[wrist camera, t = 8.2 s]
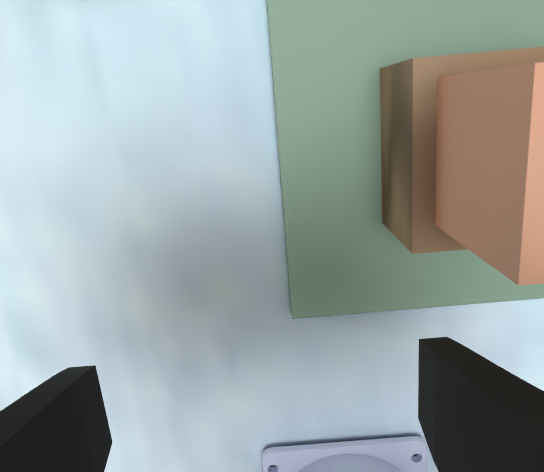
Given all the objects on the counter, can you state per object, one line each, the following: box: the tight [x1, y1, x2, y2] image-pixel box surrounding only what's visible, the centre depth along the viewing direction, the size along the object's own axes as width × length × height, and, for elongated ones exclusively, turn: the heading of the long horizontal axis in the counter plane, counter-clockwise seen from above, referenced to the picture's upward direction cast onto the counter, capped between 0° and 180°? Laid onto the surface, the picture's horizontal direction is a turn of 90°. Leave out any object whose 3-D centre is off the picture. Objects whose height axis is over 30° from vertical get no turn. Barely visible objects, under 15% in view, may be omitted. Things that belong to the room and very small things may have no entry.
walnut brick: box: [380, 47, 544, 254], centre depth 16 cm, size 6×6×4 cm
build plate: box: [267, 0, 544, 319], centre depth 18 cm, size 14×14×1 cm
